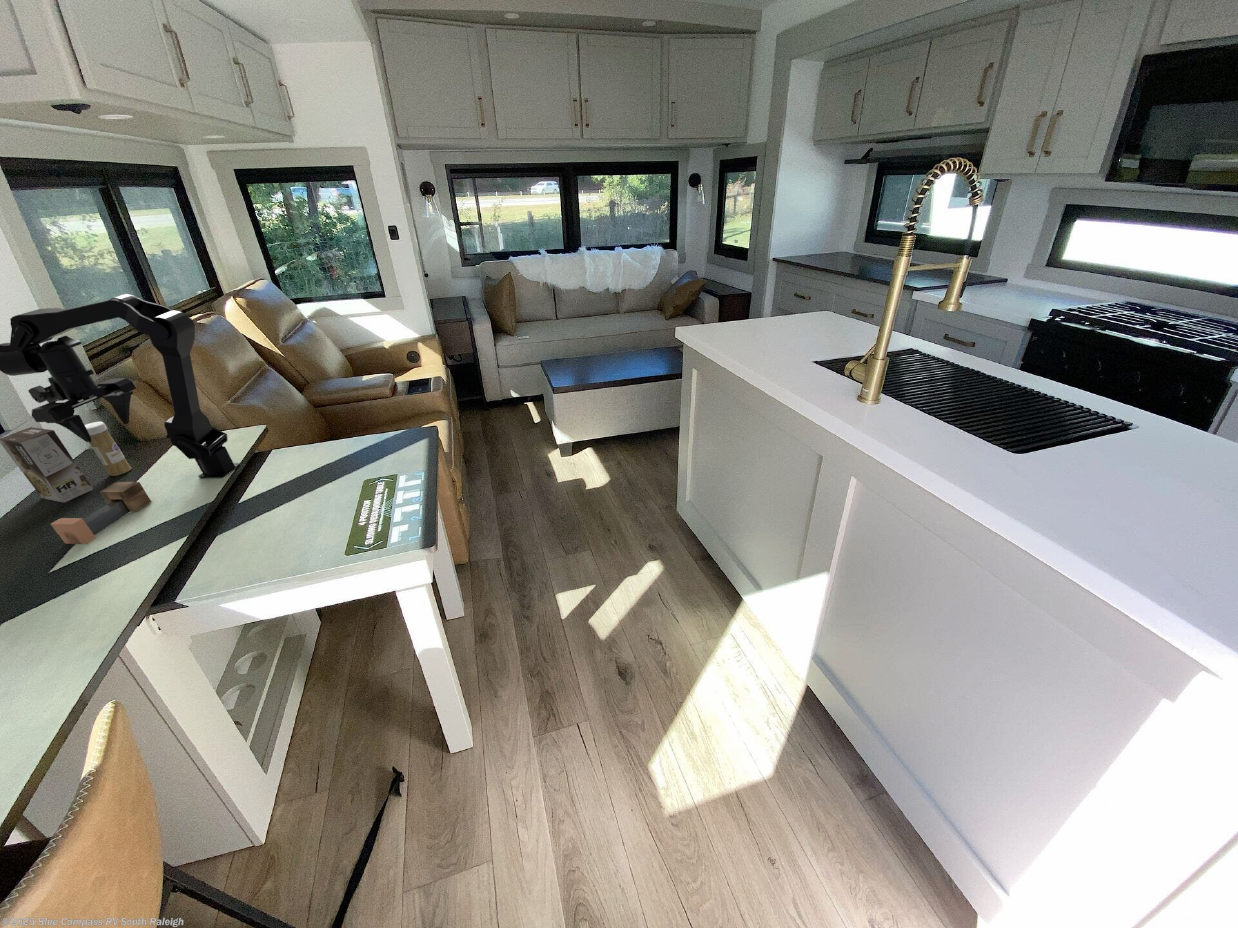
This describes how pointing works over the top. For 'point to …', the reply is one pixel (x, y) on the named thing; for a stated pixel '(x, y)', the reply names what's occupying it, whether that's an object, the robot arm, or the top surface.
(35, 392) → the robot arm
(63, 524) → the pink notched end block
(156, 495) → the top surface
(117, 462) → the sprinkles bottle
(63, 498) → the coffee box
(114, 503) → the rail
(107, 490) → the block
